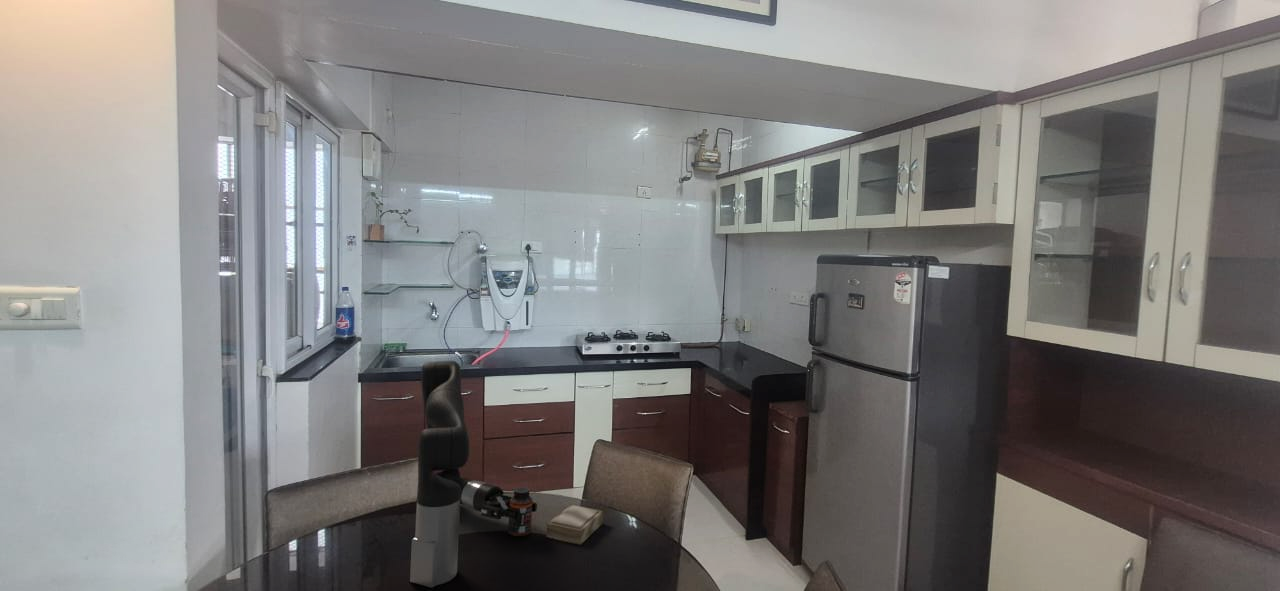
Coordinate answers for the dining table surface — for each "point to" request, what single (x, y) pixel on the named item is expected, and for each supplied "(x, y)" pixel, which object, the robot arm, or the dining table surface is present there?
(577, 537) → the beige flat block
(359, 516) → the dining table surface
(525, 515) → the supplement bottle
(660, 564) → the dining table surface
